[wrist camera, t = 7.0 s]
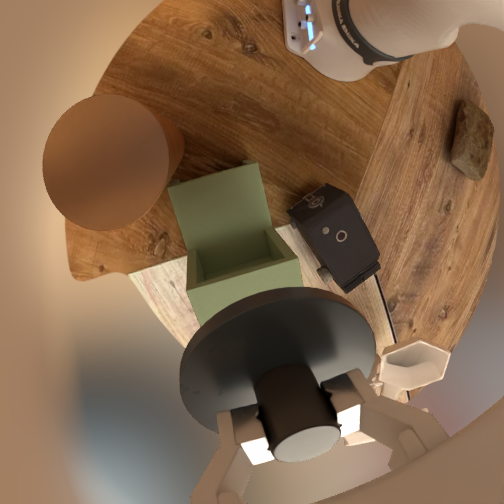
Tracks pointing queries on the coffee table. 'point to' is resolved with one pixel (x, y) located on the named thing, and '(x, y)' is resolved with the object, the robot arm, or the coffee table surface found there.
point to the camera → (336, 236)
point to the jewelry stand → (406, 372)
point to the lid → (277, 365)
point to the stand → (109, 161)
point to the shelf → (230, 239)
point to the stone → (472, 141)
